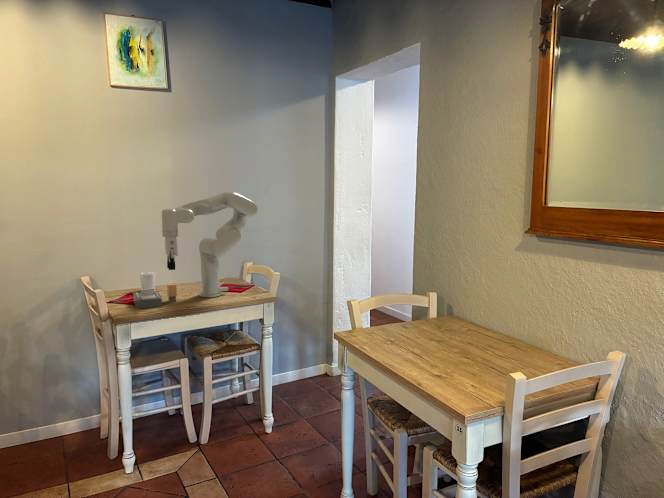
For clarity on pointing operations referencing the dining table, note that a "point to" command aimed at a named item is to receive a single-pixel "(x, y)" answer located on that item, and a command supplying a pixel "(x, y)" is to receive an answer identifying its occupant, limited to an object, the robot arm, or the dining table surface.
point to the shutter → (147, 294)
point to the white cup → (147, 280)
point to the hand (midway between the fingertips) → (171, 268)
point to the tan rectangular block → (171, 292)
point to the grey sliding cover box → (147, 301)
